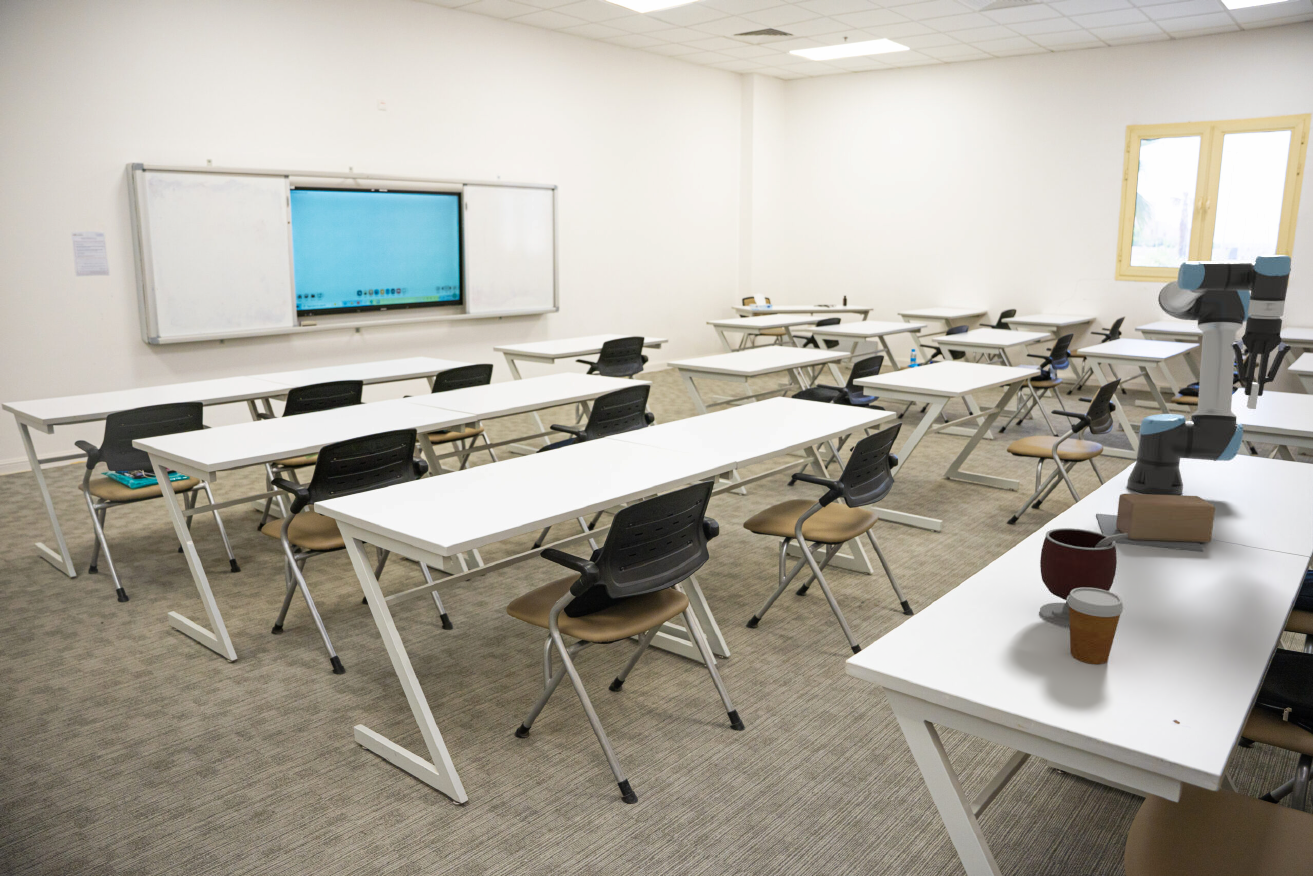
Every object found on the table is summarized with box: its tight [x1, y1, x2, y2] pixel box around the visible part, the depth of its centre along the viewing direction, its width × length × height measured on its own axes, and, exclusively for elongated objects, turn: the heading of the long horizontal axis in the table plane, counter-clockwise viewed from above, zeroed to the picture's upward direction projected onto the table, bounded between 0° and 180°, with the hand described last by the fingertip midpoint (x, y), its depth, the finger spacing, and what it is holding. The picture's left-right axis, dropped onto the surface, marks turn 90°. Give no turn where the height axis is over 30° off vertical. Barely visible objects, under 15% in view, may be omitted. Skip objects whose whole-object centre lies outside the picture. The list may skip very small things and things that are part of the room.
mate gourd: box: [1039, 527, 1128, 629], centre depth 180 cm, size 16×14×20 cm
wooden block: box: [1116, 493, 1216, 543], centre depth 230 cm, size 10×10×20 cm
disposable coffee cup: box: [1067, 587, 1125, 665], centre depth 164 cm, size 10×10×12 cm
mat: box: [1095, 512, 1204, 552], centre depth 235 cm, size 24×22×1 cm
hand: (1251, 407), depth 231 cm, fingers closed
